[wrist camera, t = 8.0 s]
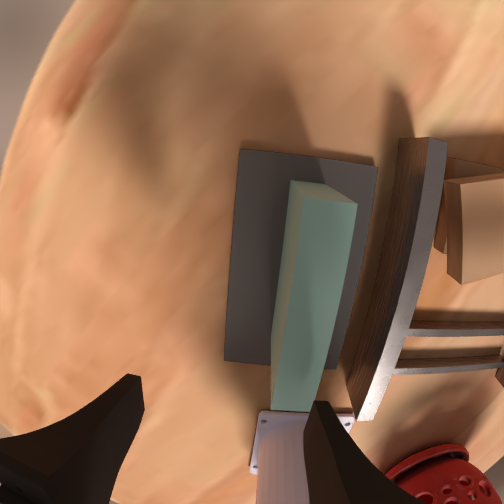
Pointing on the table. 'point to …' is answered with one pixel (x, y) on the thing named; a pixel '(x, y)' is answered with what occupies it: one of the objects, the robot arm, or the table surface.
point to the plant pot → (443, 477)
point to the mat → (271, 244)
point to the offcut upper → (475, 227)
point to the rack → (409, 285)
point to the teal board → (308, 291)
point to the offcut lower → (452, 171)
